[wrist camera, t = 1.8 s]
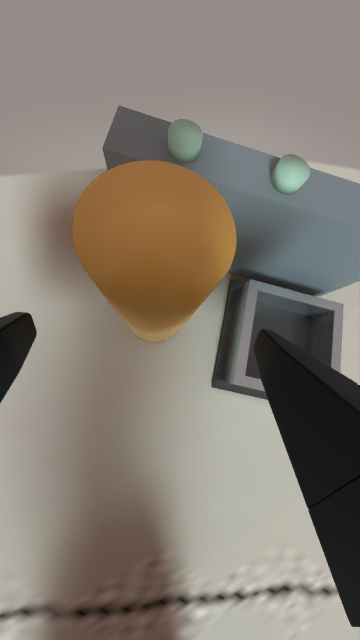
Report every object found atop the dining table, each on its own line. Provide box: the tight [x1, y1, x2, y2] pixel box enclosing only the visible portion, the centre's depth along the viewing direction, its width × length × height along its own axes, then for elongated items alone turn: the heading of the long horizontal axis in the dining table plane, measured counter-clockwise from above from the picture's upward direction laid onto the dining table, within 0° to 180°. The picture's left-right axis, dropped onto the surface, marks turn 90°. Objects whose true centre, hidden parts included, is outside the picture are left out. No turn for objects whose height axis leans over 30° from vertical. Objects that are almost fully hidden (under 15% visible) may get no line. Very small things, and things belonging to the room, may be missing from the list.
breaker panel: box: [103, 106, 360, 296], centre depth 16 cm, size 20×4×10 cm, turn 77°
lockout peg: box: [72, 160, 236, 343], centre depth 12 cm, size 5×5×12 cm
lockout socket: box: [212, 279, 344, 400], centre depth 18 cm, size 10×10×3 cm
